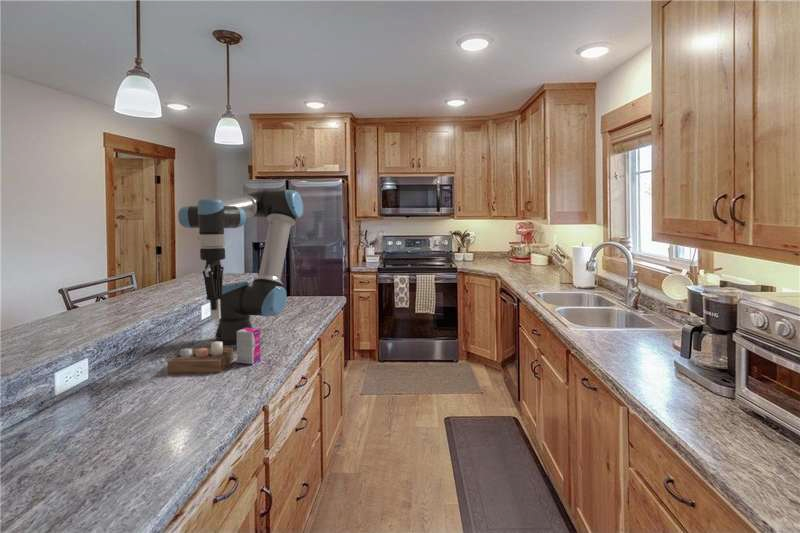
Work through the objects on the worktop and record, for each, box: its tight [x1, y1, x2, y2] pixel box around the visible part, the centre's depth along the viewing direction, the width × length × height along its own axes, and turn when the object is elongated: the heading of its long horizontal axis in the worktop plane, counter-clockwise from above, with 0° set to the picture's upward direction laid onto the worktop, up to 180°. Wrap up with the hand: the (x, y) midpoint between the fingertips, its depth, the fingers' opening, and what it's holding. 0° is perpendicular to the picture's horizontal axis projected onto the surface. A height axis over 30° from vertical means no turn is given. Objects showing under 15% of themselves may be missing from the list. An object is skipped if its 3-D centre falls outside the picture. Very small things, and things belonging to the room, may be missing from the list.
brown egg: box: [195, 347, 209, 357], centre depth 151 cm, size 4×4×5 cm
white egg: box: [210, 341, 224, 356], centre depth 151 cm, size 4×4×5 cm
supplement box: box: [236, 327, 261, 366], centre depth 155 cm, size 6×6×12 cm
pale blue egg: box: [179, 347, 193, 357], centre depth 151 cm, size 4×4×5 cm
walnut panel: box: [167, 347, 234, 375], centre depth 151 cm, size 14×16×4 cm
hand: (215, 318), depth 150 cm, fingers closed
